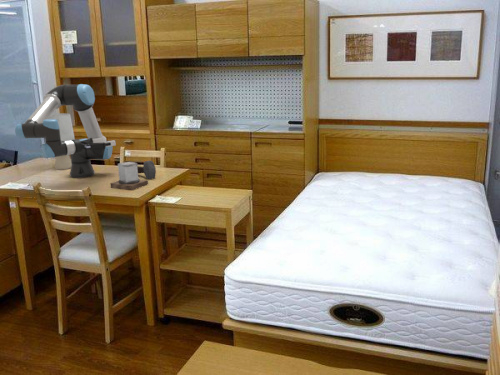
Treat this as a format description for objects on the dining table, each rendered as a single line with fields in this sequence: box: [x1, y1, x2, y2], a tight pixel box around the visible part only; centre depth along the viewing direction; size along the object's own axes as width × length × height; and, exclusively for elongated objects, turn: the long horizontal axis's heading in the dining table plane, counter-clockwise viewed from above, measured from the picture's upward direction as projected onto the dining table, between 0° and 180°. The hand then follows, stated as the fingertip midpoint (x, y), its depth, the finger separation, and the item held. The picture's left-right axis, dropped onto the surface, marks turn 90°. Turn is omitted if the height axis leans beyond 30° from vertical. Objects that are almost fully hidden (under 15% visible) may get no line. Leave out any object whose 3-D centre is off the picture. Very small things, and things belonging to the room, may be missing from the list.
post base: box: [110, 178, 149, 191], centre depth 288 cm, size 14×16×9 cm
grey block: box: [117, 161, 139, 183], centre depth 287 cm, size 8×8×10 cm
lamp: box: [48, 112, 76, 171], centre depth 339 cm, size 19×19×37 cm
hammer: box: [137, 160, 157, 180], centre depth 314 cm, size 5×11×30 cm
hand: (109, 141), depth 276 cm, fingers open, 13 cm apart
